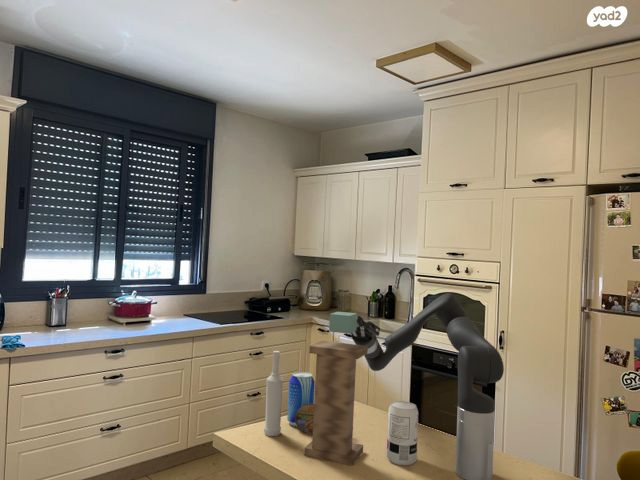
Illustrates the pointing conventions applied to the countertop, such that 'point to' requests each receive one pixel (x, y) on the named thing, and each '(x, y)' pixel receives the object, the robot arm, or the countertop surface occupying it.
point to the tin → (305, 418)
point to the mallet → (343, 322)
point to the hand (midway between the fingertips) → (353, 318)
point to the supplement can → (402, 433)
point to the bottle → (273, 399)
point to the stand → (335, 402)
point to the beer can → (299, 393)
